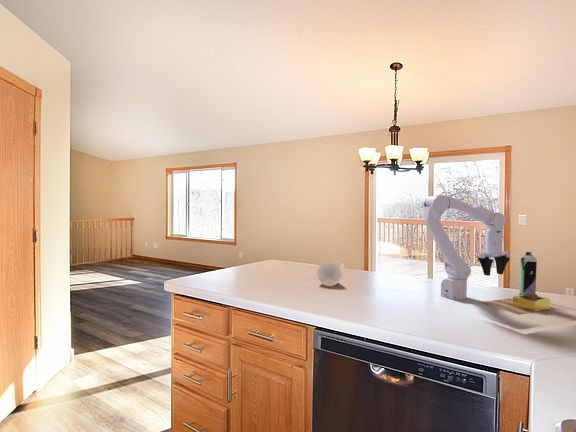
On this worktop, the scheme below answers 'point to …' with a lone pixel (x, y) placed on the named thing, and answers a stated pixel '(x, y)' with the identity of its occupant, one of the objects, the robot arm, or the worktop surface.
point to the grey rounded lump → (329, 273)
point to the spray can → (528, 274)
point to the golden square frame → (531, 302)
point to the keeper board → (510, 305)
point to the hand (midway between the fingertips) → (493, 274)
